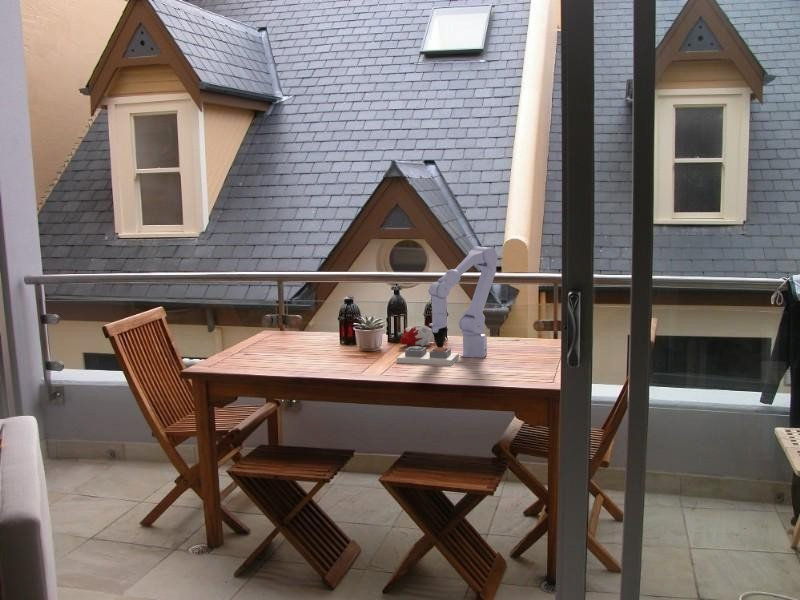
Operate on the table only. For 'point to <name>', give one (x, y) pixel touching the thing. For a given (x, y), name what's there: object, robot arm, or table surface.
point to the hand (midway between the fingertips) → (440, 347)
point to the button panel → (428, 357)
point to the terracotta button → (440, 348)
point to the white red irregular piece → (416, 335)
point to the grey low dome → (416, 348)
